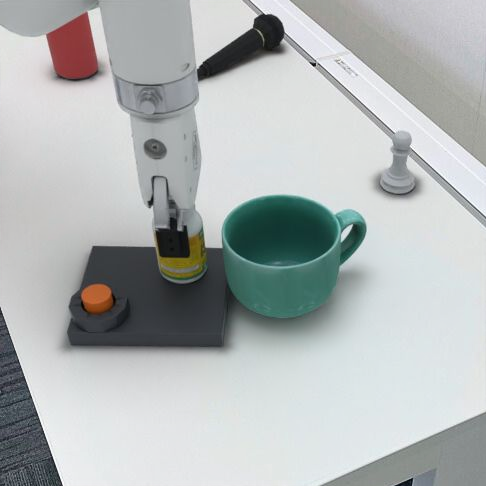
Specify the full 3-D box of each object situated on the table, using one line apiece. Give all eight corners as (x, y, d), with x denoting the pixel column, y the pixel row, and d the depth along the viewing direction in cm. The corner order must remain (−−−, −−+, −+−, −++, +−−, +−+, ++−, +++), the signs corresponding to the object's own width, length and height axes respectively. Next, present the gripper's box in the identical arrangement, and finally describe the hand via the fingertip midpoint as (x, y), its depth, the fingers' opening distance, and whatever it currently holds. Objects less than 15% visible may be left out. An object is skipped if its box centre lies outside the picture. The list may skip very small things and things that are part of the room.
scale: (70, 344, 82) (63, 321, 79) (95, 257, 91) (89, 234, 88) (222, 346, 82) (220, 323, 80) (231, 260, 92) (230, 237, 89)
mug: (246, 345, 83) (242, 280, 76) (213, 271, 90) (206, 206, 83) (386, 308, 88) (394, 243, 81) (343, 241, 95) (347, 177, 88)
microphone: (199, 104, 121) (289, 48, 129) (200, 77, 116) (293, 20, 124) (175, 82, 122) (266, 28, 130) (175, 54, 116) (269, 0, 125)
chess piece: (420, 182, 104) (428, 130, 99) (403, 199, 102) (409, 146, 96) (391, 170, 106) (396, 118, 100) (373, 186, 103) (377, 133, 97)
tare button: (81, 314, 80) (78, 303, 79) (87, 294, 82) (84, 283, 81) (110, 314, 80) (108, 303, 79) (115, 294, 82) (113, 284, 81)
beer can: (77, 85, 117) (59, 6, 108) (46, 72, 119) (25, -6, 110) (108, 68, 121) (93, -10, 112) (77, 56, 123) (60, -21, 114)
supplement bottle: (155, 259, 88) (143, 190, 81) (201, 250, 90) (194, 181, 83) (165, 289, 85) (153, 220, 78) (212, 280, 87) (205, 211, 79)
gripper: (187, 136, 65) (206, 292, 79) (206, 41, 77) (219, 191, 90) (97, 133, 65) (131, 291, 78) (129, 38, 76) (154, 189, 90)
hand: (178, 236), depth 84 cm, fingers closed on supplement bottle, 5 cm apart
